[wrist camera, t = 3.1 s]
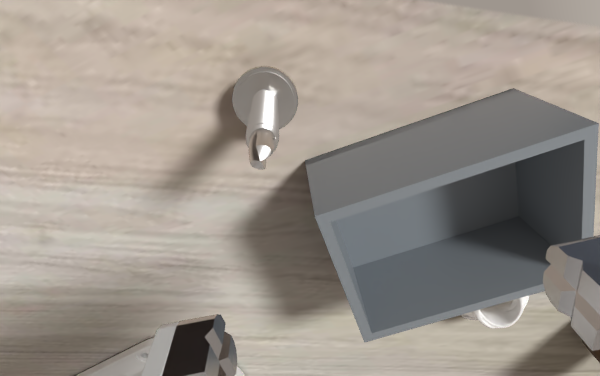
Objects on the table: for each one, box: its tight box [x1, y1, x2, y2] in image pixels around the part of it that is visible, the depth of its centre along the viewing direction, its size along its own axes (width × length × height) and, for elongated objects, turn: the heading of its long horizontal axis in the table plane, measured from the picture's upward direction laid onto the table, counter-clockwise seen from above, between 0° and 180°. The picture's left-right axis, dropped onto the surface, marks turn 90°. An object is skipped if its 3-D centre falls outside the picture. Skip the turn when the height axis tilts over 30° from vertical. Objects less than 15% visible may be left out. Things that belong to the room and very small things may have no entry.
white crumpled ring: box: [461, 296, 529, 328], centre depth 39 cm, size 8×7×5 cm
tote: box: [305, 88, 599, 342], centre depth 30 cm, size 18×13×9 cm
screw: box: [232, 66, 298, 169], centre depth 23 cm, size 13×5×5 cm
